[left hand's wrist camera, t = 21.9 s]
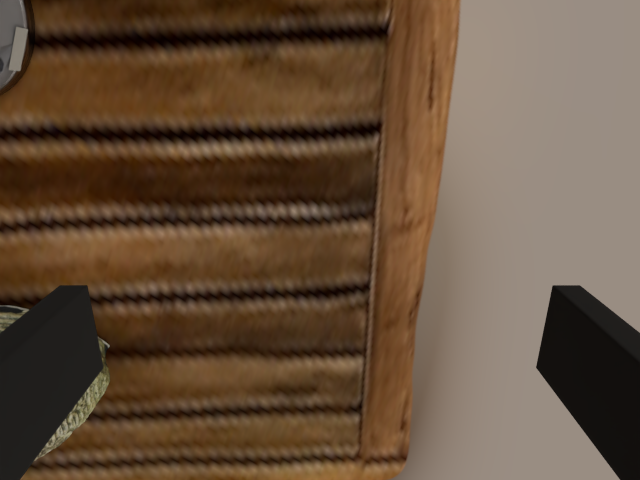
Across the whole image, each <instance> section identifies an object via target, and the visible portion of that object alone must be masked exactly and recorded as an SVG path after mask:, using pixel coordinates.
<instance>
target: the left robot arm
mask: <svg viewBox="0 0 640 480" xmlns="http://www.w3.org/2000/svg"><path fill="white" fill-rule="evenodd" d="M34 41H35V22H34V14H33V9H32V5H31V1H30V0H0V95H1V94H3V93H5V92H6V91H8V90H9V89H10V88H12V87H13V86H14V85H15V84H16V83H17V82H18V81H19V79H20V78H21V77H22V75H23V74H24V72H25V70H26V69H27V67H28V65H29V62H30V59H31V56H32V52H33V48H34ZM103 368H104V366H103V361H102V356H101V351H100V346H99V341H98V336H97V331H96V326H95V322H94V317H93V312H92V307H91V302H90V297H89V292H88V287H87V286H59V287H58V288H56V289H55V290H54V291H53V292H51V293H50V294H49V295H48V296H46V297H45V298H44V299H42V300H41V301H40V302H39V303H37V304H36V305H35V306H34V307H32V308H31V309H30V310H29V311H27V312H26V313H25V314H24V315H22V316H21V317H20V318H19V319H17V320H16V321H15V322H14V323H12V324H11V325H10V326H8V327H7V328H6V329H5V330H3V331H2V332H1V333H0V480H20V479H21V477H22V476H23V475H24V473H25V472H26V471H27V469H28V468H29V467H30V465H31V464H32V463H33V461H34V460H35V459H36V457H37V456H38V455H39V453H40V452H41V451H42V449H43V448H44V447H45V445H46V444H47V443H48V441H49V440H50V439H51V437H52V436H53V435H54V433H55V432H56V431H57V429H58V428H59V427H60V425H61V424H62V423H63V421H64V420H65V419H66V417H67V416H68V415H69V413H70V412H71V411H72V409H73V408H74V407H75V405H76V404H77V403H78V401H79V400H80V399H81V397H82V396H83V395H84V393H85V392H86V391H87V389H88V388H89V387H90V385H91V384H92V383H93V381H94V380H95V379H96V377H97V376H98V375H99V373H100V372H101V371H102V369H103ZM536 368H537V369H538V371H539V372H540V373H541V375H542V376H543V377H544V379H545V380H546V381H547V383H548V384H549V385H550V387H551V388H552V389H553V391H554V392H555V393H556V395H557V396H558V397H559V399H560V400H561V401H562V403H563V404H564V405H565V407H566V408H567V409H568V411H569V412H570V413H571V415H572V416H573V417H574V419H575V420H576V421H577V423H578V424H579V425H580V427H581V428H582V429H583V431H584V432H585V433H586V435H587V436H588V437H589V439H590V440H591V441H592V443H593V444H594V445H595V447H596V448H597V449H598V451H599V452H600V453H601V455H602V456H603V457H604V459H605V460H606V461H607V463H608V464H609V465H610V467H611V468H612V469H613V471H614V472H615V473H616V475H617V476H618V477H619V479H620V480H640V333H639V332H638V331H637V330H635V329H634V328H633V327H632V326H630V325H629V324H628V323H626V322H625V321H624V320H623V319H621V318H620V317H619V316H618V315H616V314H615V313H614V312H613V311H611V310H610V309H609V308H608V307H606V306H605V305H604V304H602V303H601V302H600V301H599V300H598V299H596V298H595V297H594V296H592V295H591V294H590V293H589V292H587V291H586V290H585V289H584V288H582V287H581V286H553V287H552V292H551V297H550V302H549V307H548V312H547V317H546V322H545V326H544V331H543V337H542V341H541V347H540V351H539V356H538V361H537V366H536Z"/></svg>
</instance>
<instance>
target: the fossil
mask: <svg viewBox="0 0 640 480" xmlns="http://www.w3.org/2000/svg"><path fill="white" fill-rule="evenodd" d="M27 311H29V310H28V309H25V308H20V307H16V306H9V305H6V306H1V305H0V333H1V332H2V331H3V330H5V329H6V328H7V327H8V326H10V325H11V324H12V323H14V322H15V321H16V320H17V319H19V318H20V317H21V316H22V315H24V314H25V313H26V312H27ZM98 341H99V346H100V351H101V356H102V361H103V366H104V368H103V369H102V371H101V372H100V373H99V375H98V376H97V377H96V379H95V380H94V381H93V383H92V384H91V385H90V387H89V388H88V389H87V391H86V392H85V393H84V395H83V396H82V397H81V399H80V400H79V401H78V403H77V404H76V405H75V407H74V408H73V409H72V411H71V412H70V413H69V415H68V416H67V417H66V419H65V420H64V421H63V423H62V424H61V425H60V427H59V428H58V429H57V431H56V432H55V433H54V435H53V436H52V437H51V439H50V440H49V441H48V443H47V444H46V445H45V447H44V448H43V449H42V451H41V452H40V453H39V455H38V456H37V457H36V459H35V460H37V459H38V458H39V457H42V456H44V455H45V454H47V453H48V452H50V451H51V450H53V449H54V448H56V447H58V446H59V445H60V444H62V443H63V442H64V441H65V440H66V439H67V438H68V437H70V435H71V434H72V432H73V430H75V429H76V428H78V427H79V426H80V425H81V424H82V423H83V422H85V420H86V418H87V417H88V416H89V414H90V413H91V412H92V411H93V409H94V408H95V406H96V405H97V403H98V401H99V400H100V399H101V397H102V396H103V394H104V392H105V391H106V389H107V386H108V384H109V382H110V373H109V370H108V367H107V364H106V359H105V355H106V351H107V349H108V348H109V346H110V345H109V344H108V343H106V342H105V341H104V340H102V339H101V338H99V337H98ZM35 460H34V461H35Z"/></svg>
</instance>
